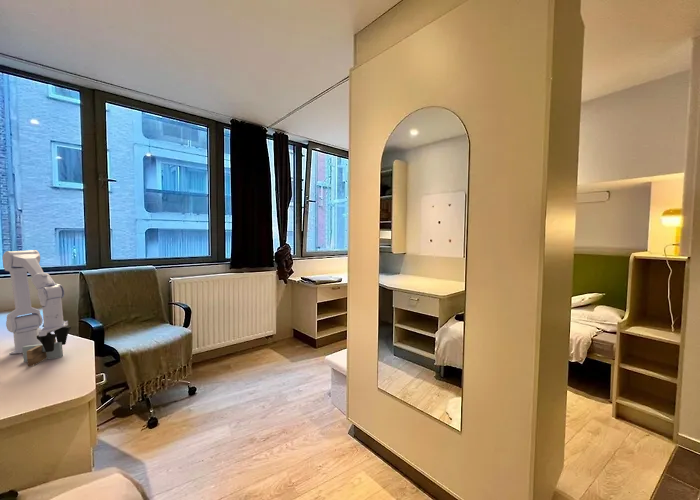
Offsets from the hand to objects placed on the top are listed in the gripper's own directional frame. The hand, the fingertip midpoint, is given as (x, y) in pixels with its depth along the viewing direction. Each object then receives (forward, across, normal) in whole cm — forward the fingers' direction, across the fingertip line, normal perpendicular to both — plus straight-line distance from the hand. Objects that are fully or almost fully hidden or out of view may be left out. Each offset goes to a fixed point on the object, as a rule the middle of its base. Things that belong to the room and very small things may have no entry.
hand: (56, 348), depth 124 cm
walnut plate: (+4, 0, +4) cm, 6 cm away
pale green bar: (+4, 0, +4) cm, 6 cm away
